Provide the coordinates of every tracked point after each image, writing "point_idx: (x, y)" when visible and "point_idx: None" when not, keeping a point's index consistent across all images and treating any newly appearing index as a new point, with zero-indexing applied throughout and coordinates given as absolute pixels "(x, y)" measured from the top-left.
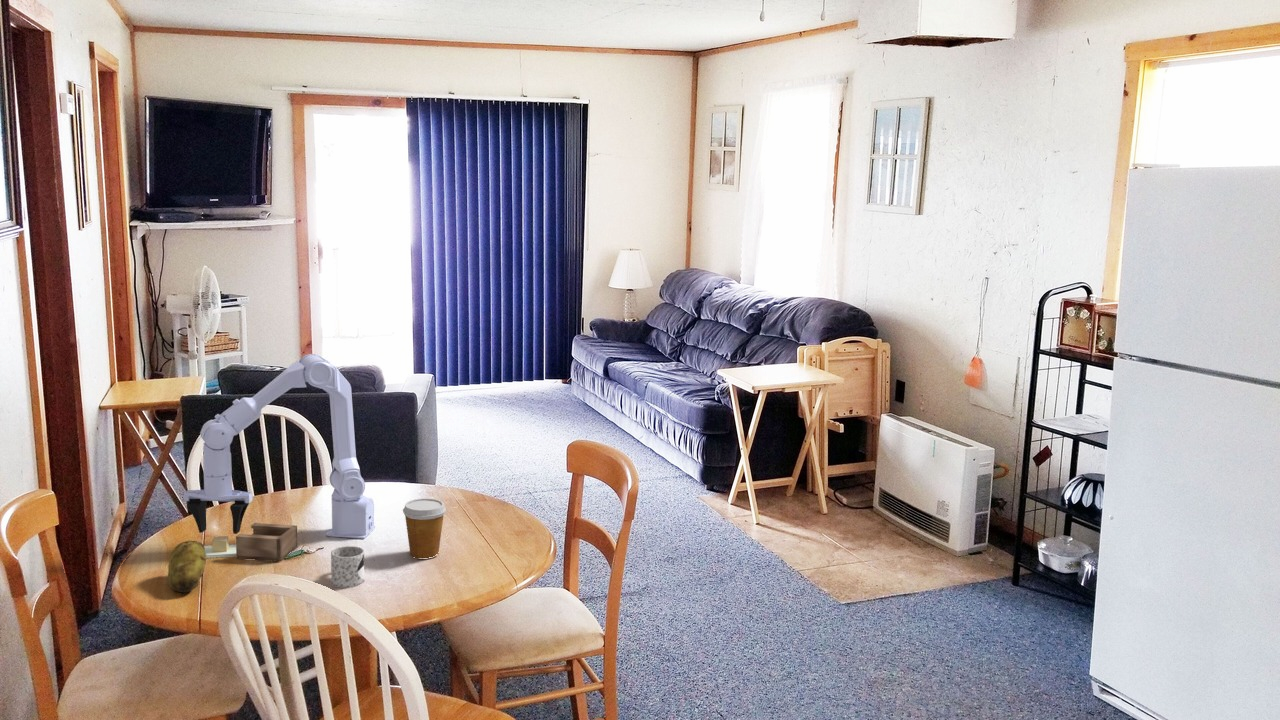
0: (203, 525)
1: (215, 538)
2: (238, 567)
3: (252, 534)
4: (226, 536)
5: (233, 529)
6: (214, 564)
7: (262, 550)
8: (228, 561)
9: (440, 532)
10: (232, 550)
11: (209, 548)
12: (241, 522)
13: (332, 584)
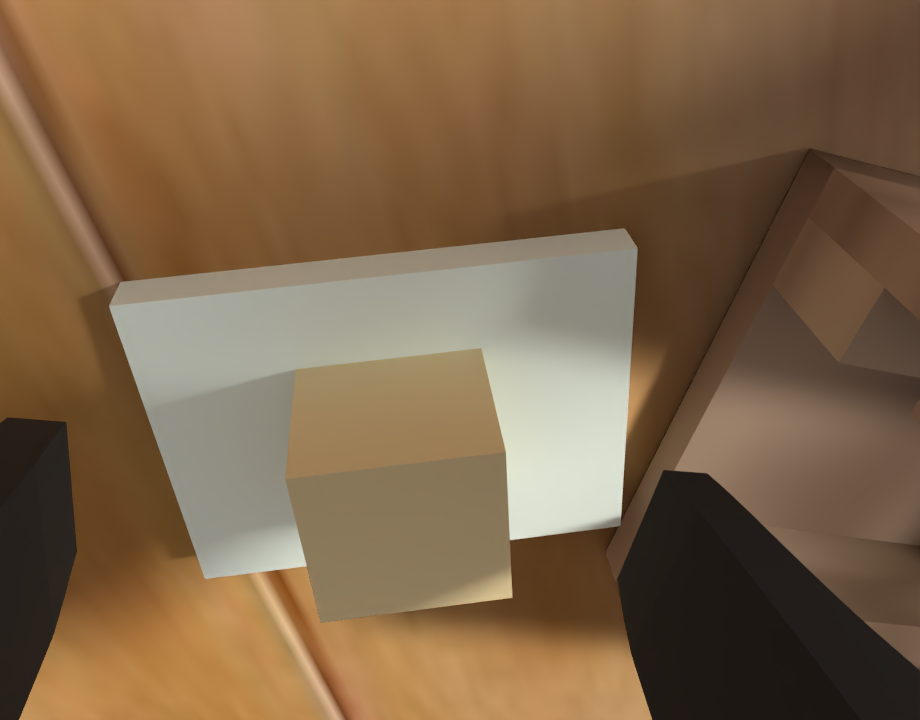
0: (33, 595)
1: (337, 541)
2: (639, 687)
3: (865, 339)
4: (483, 472)
5: (644, 665)
6: (420, 649)
7: None
8: (535, 595)
9: None
10: (551, 454)
11: (242, 395)
12: (807, 571)
13: None
